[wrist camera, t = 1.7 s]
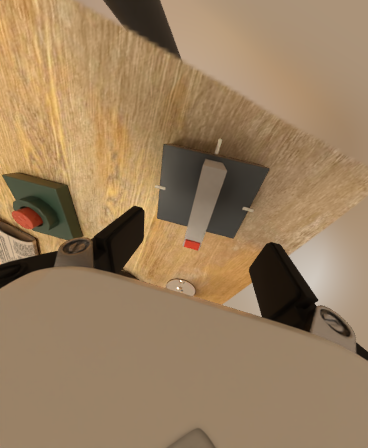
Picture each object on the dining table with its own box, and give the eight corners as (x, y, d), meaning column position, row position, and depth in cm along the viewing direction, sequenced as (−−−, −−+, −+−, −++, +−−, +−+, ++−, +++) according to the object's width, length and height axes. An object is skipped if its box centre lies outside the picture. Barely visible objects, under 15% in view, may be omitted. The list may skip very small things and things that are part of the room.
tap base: (167, 128, 16) (159, 125, 14) (272, 151, 16) (285, 153, 13) (158, 217, 24) (152, 226, 21) (230, 236, 23) (233, 248, 20)
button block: (17, 172, 24) (-14, 176, 21) (67, 185, 24) (43, 192, 20) (43, 225, 31) (22, 235, 27) (82, 236, 30) (66, 247, 27)
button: (20, 204, 23) (7, 208, 22) (38, 209, 23) (27, 214, 22) (29, 221, 25) (18, 226, 24) (46, 226, 25) (36, 231, 24)
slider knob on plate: (205, 158, 15) (202, 165, 10) (222, 163, 15) (227, 171, 10) (188, 224, 20) (182, 247, 15) (201, 227, 20) (198, 252, 15)
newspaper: (47, 293, 52) (37, 302, 49) (15, 278, 50) (2, 287, 47) (37, 235, 33) (20, 244, 30) (-14, 210, 32) (-38, 217, 29)
